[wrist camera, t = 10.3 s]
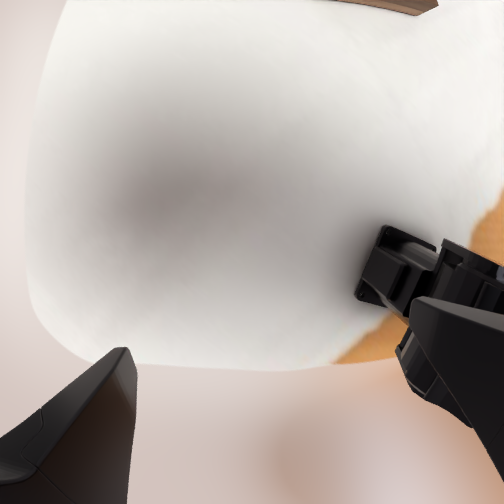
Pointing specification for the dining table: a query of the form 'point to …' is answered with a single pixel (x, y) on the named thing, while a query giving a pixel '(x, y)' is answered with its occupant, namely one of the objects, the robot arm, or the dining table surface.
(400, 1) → the drawer
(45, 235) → the dining table surface
